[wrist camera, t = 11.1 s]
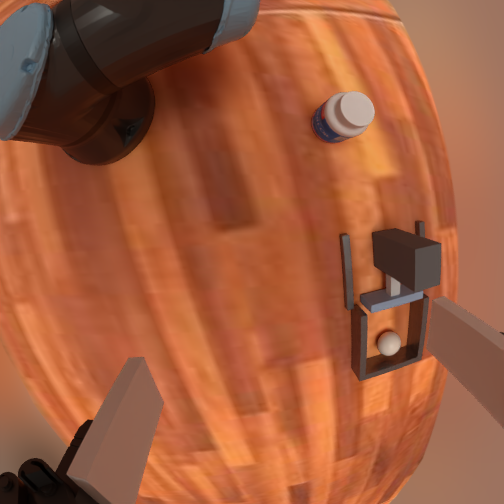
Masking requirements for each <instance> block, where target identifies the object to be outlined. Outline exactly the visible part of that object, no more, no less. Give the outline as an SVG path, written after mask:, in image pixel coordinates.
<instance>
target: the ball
mask: <svg viewBox="0 0 504 504" xmlns="http://www.w3.org/2000/svg"><path fill="white" fill-rule="evenodd" d="M400 345H401V340H400V337H399V336H398V335H397V334H396V333H395V332H385V333H383V334H382V335H381V336H380V338H379V339H378V343H377V346H378V350H379V351H380V353H382V354H383V355H386V356H390V355H393V354H395V353H396V352H397V351H398V350H399V348H400Z"/></svg>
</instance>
